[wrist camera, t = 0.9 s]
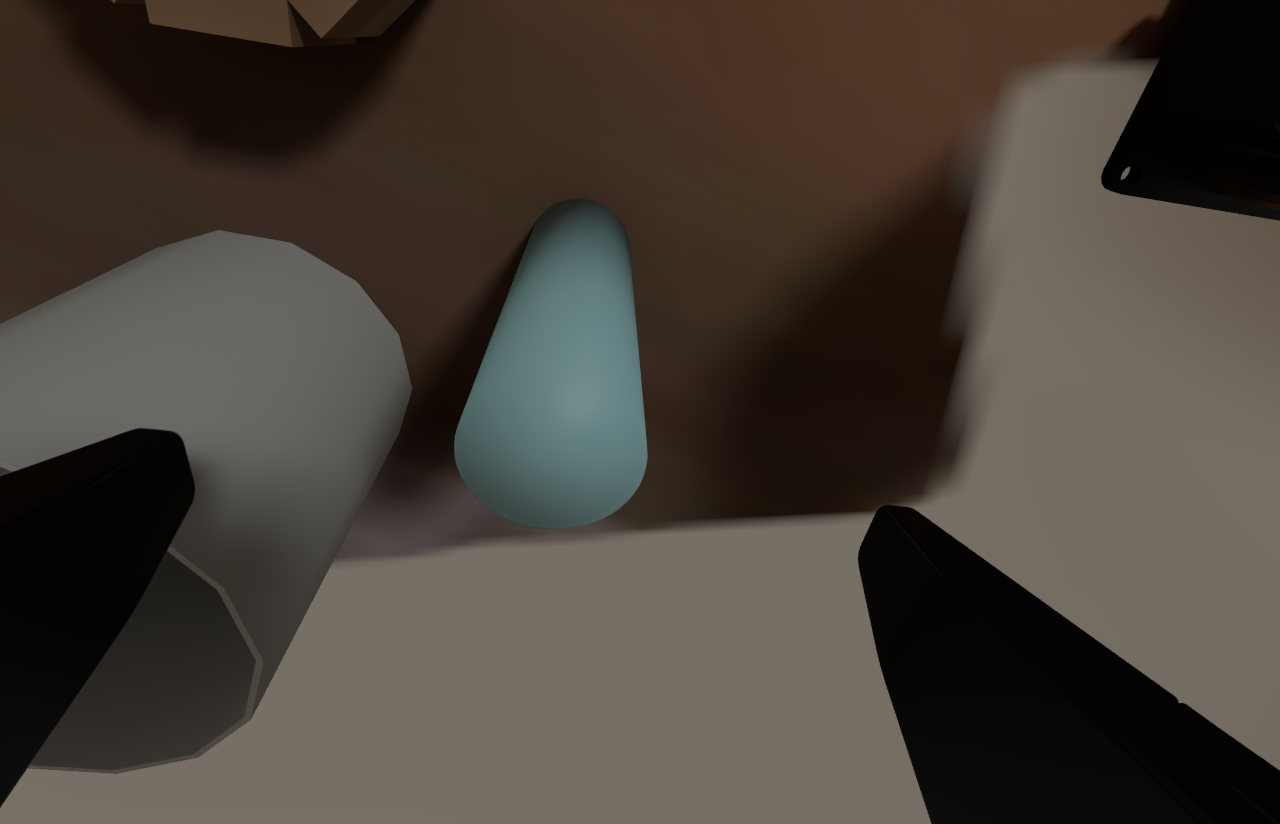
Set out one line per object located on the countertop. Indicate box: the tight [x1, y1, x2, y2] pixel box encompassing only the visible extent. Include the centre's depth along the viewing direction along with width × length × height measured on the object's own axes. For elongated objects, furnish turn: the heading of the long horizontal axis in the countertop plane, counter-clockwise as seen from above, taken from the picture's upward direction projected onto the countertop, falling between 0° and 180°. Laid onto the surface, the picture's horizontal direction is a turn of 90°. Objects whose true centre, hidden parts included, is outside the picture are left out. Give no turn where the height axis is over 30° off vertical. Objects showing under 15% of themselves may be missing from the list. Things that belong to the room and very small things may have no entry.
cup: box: [0, 230, 412, 774], centre depth 15 cm, size 8×8×10 cm
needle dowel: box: [454, 199, 647, 529], centre depth 13 cm, size 3×3×10 cm
